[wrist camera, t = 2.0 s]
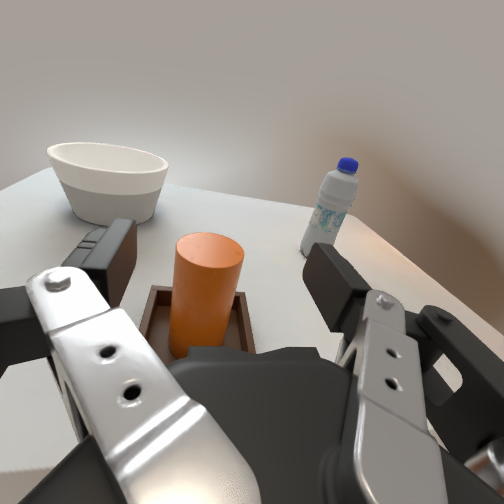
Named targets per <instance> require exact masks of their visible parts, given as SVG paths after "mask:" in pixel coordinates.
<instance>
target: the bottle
mask: <svg viewBox="0 0 504 504" xmlns="http://www.w3.org/2000/svg"><path fill="white" fill-rule="evenodd" d="M357 168H358V162H357V161H356V160H354V159H352V158H342V159H340V161H339V163H338V166H337V169H338V170H336V171H331V172H328V173H327V175H326V177H325V179H324V181H323V183H322V185H321V186H320V188H319V193H318V200H317V203H316V206H315V208H314V211H313V214H312V217H311V219H310V222H309V225H308V227H307V229H306V232H305V234H304V236H303V239H302V242H301V246H300V249H301V251H302V252H303V253H304V255H305V256H306V257H308V255H309V253H310V250H311V247H312V245H313V244H314V243H315V242H318V243H326V244H331V245H332V246H333V245H334V242H335V239H336V236H337V233H338V231H339V229H340V227H341V224H342V222H343V220H344V217H345V215H346V213H347V210H348V209H349V208H350V207H351V206H352V203H353V201H354V200H355V197H356V193H357V189H358V186H359V181H358V180H357V178H356V177H355V176H354V175H353V174H355V173H356V171H357Z"/></svg>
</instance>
